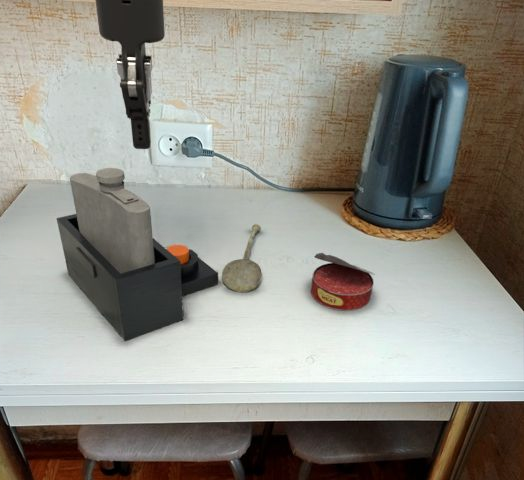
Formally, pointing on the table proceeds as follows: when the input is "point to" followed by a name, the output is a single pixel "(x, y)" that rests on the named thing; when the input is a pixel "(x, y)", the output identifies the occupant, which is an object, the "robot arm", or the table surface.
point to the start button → (179, 252)
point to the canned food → (341, 284)
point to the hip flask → (113, 219)
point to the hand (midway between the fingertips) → (142, 147)
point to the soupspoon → (243, 270)
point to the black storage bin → (124, 284)
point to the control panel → (196, 275)
